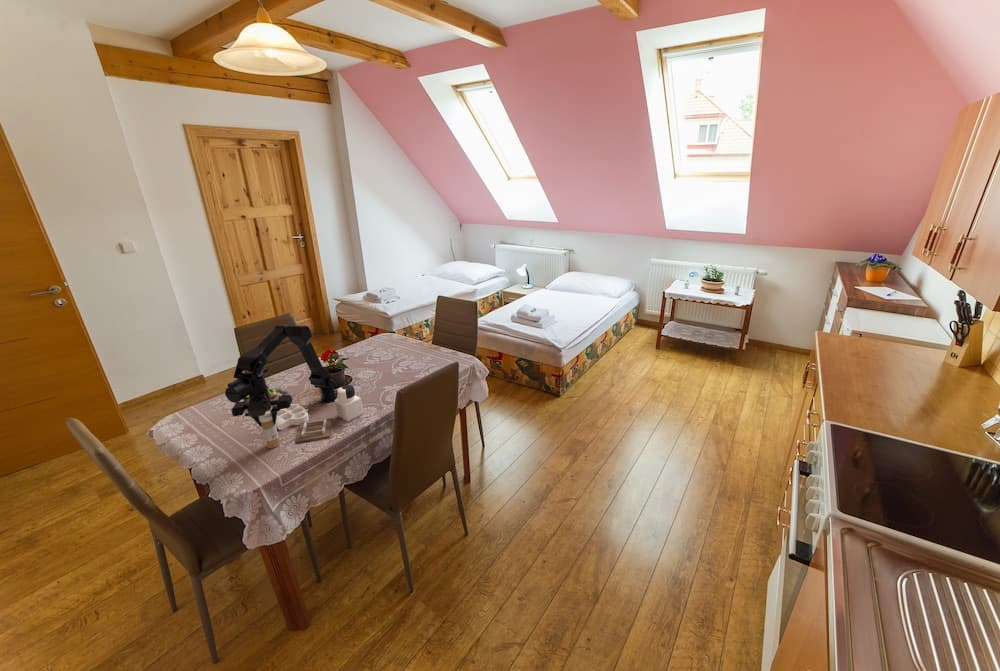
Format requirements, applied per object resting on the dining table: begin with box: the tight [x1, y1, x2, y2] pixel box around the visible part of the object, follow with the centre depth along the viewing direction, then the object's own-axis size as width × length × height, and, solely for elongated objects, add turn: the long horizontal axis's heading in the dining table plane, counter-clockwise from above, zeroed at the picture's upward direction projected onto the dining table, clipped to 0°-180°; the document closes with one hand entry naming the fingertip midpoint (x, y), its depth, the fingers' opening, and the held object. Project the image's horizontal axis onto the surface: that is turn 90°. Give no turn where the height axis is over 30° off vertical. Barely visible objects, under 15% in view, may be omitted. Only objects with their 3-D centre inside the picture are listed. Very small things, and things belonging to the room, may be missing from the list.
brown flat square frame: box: [295, 417, 334, 444], centre depth 166 cm, size 13×12×2 cm
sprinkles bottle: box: [259, 411, 281, 449], centre depth 156 cm, size 5×5×13 cm
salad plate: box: [239, 386, 289, 404], centre depth 191 cm, size 19×18×5 cm
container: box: [334, 384, 364, 422], centre depth 174 cm, size 8×8×13 cm
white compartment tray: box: [275, 403, 310, 431], centre depth 175 cm, size 3×18×15 cm
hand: (268, 424), depth 155 cm, fingers closed on sprinkles bottle, 4 cm apart
